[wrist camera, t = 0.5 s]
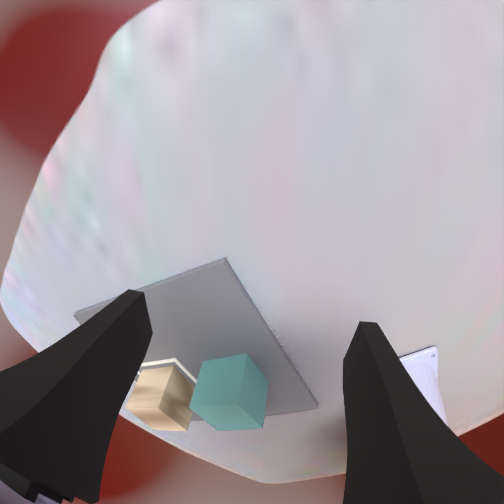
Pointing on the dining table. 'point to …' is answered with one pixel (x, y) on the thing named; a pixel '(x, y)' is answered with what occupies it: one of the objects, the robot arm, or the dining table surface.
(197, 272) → the gray board
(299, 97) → the dining table surface
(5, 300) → the dining table surface
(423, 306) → the dining table surface
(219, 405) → the teal block
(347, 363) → the robot arm
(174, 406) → the birch block
